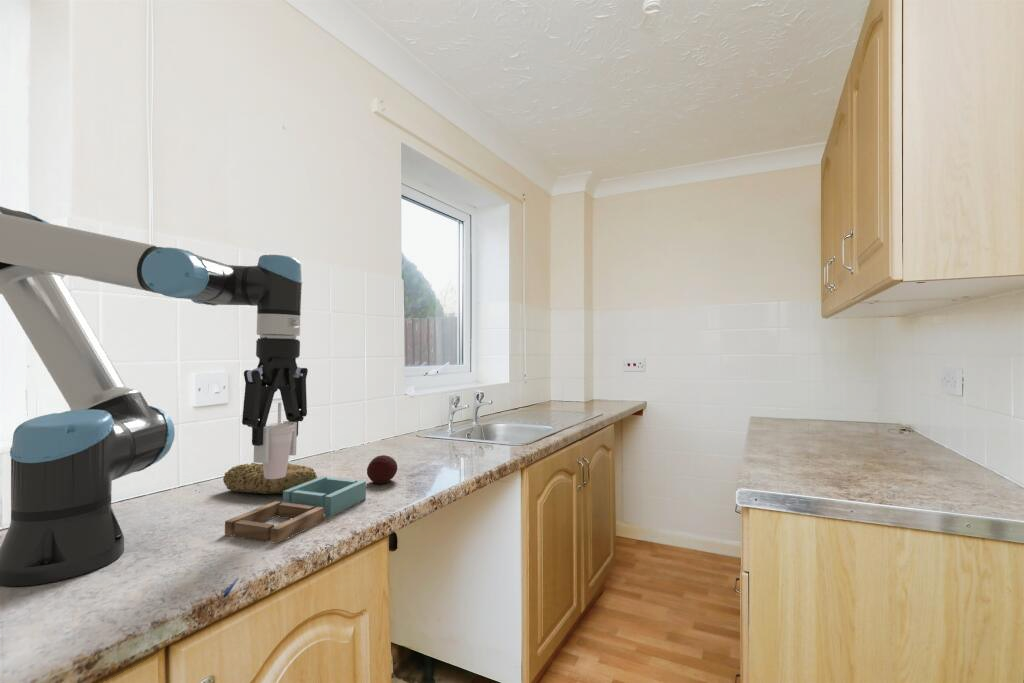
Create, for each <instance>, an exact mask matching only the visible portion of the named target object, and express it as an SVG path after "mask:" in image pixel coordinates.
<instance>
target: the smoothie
mask: <svg viewBox="0 0 1024 683" xmlns="http://www.w3.org/2000/svg"><path fill="white" fill-rule="evenodd" d="M277 404H278V405H277V408H278V409H277V422H276V423H274V422H273V423H266V426H265V427H269V462H268V463H266V464H264V463H262V464H263V470H264V478H266V479H278V478H283V477H285V476H286V471H287V465H288V463H289V458H290V455H289V452H290V446H291V440H292V433H293V431H294V430H295V429H294V426H295V425H294V424H290V423H283V422H282V402H278V403H277Z"/></svg>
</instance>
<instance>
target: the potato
mask: <svg viewBox="0 0 1024 683" xmlns="http://www.w3.org/2000/svg"><path fill="white" fill-rule="evenodd" d="M397 471H398V464H397V461H396V460H395V459H394V458H393V457H391V456H389V455H385V454H383V455H378V456H375V457H374V458H373V459H372V460H371V461H370V462H369V464H368V466H367V467H366V474H367V477H368V478H369V480H370V481H371V482H373V483H374V484H377V485H381V484H385V483H388V482H389V481H391V480H392V479H393V478H394V477H396V474H397V473H398V472H397Z"/></svg>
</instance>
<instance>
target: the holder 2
mask: <svg viewBox="0 0 1024 683" xmlns="http://www.w3.org/2000/svg"><path fill="white" fill-rule="evenodd" d="M366 494H367V481H365V480H359V481H358V480H357V479H348V478H340V477H332V476H331V477H328V476H320V477H317V478H316V479H314V480H311V481H308V482H306V483H303V484H300V485H298V486H295V487H292V488H290V489H287V490H285V491H283V493H282V503H284V502H286V503H294V504H301V505H309V506H315V508H316V507H324V517H329V516H331V517H333V516H335V515H337V514H339V513H340V511H341V512H343V511H345V510H347V509H349V508H351V507H352V505H353V506H355V505H357V504H358V502H359V503H361V502H363V501H364V499H365V500H366V499H367V495H366ZM362 500H363V501H362ZM360 501H361V502H360ZM356 503H357V504H356ZM354 504H355V505H354ZM350 506H351V507H350ZM348 507H349V508H348ZM346 508H347V509H346ZM344 509H345V510H344ZM342 510H343V511H342ZM338 512H339V513H338ZM336 513H337V514H336ZM334 514H335V515H334ZM332 515H333V516H332Z"/></svg>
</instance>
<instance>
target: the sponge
mask: <svg viewBox="0 0 1024 683" xmlns="http://www.w3.org/2000/svg"><path fill="white" fill-rule="evenodd" d="M316 478H318V475H317V471H315V470H314V469H313V468H312V467H308V466H305V465H300V464H292V463H289V462H288V465H287V471H286V476H285V477H283V478H278V479H266V478H264V470H263V463H255V462H251V463H250V464H249V463H244V464H239V465H235V466H232V467H231V468H230V469H229V470H227V471H225V473H224V476H223V484H224V485H225V487H226V489H228V490H229V491H232V492H238V493H250V494H262V495H275V494H283V491H285V490H287V489H290V488H292V487H295V486H298V485H300V484H303V483H306V482H308V481H311V480H314V479H316Z"/></svg>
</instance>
